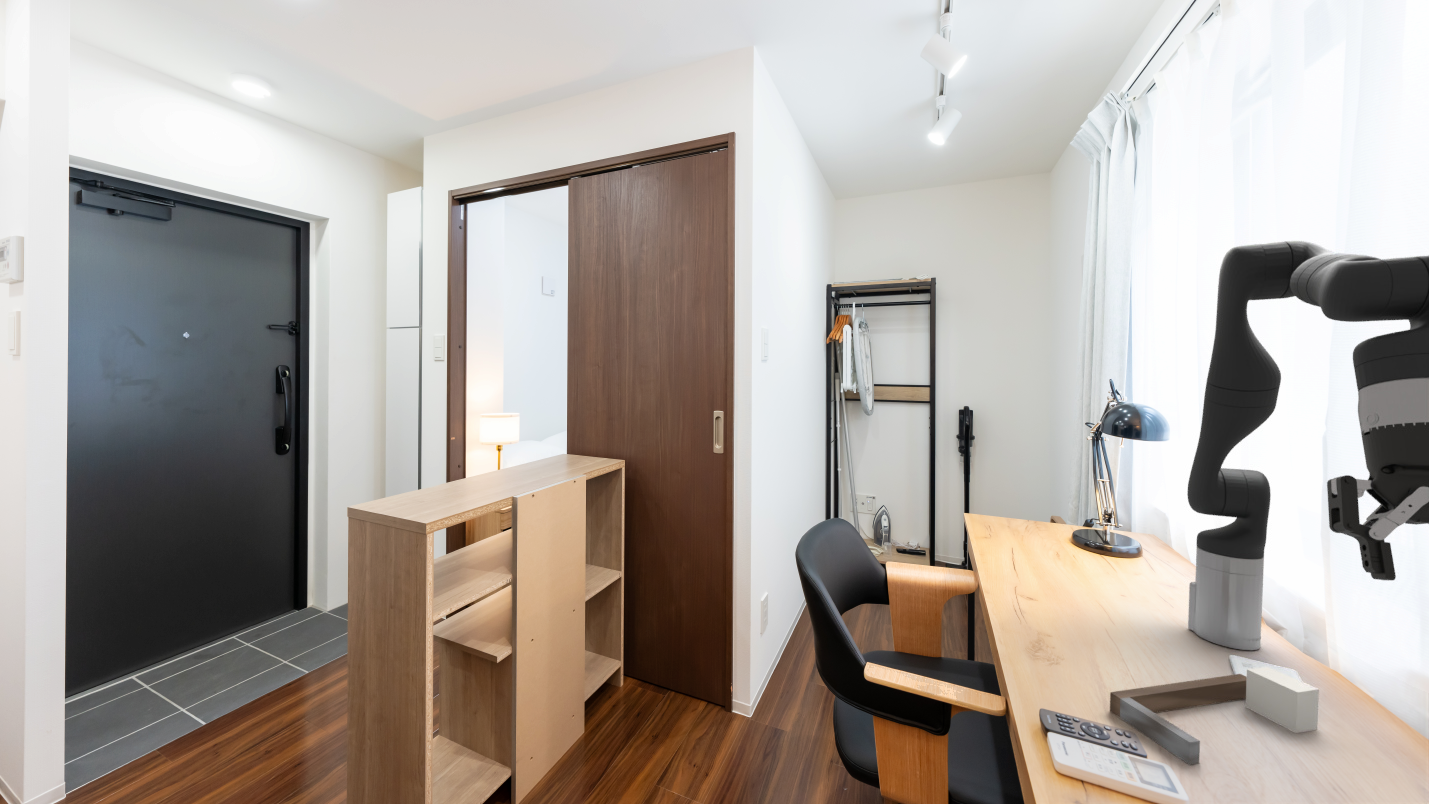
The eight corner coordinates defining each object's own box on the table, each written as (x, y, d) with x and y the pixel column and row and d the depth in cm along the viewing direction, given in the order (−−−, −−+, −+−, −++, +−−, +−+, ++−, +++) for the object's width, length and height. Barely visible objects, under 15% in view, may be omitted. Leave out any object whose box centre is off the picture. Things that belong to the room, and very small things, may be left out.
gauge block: (1245, 707, 79) (1246, 669, 79) (1265, 703, 80) (1267, 666, 80) (1295, 733, 73) (1297, 692, 73) (1317, 729, 74) (1319, 689, 74)
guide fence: (1109, 711, 78) (1110, 692, 78) (1239, 691, 83) (1240, 673, 83) (1189, 764, 67) (1190, 742, 67) (1333, 738, 72) (1334, 718, 72)
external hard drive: (1239, 695, 83) (1229, 662, 93) (1316, 716, 78) (1296, 678, 87) (1240, 685, 83) (1229, 653, 93) (1317, 705, 78) (1297, 669, 87)
